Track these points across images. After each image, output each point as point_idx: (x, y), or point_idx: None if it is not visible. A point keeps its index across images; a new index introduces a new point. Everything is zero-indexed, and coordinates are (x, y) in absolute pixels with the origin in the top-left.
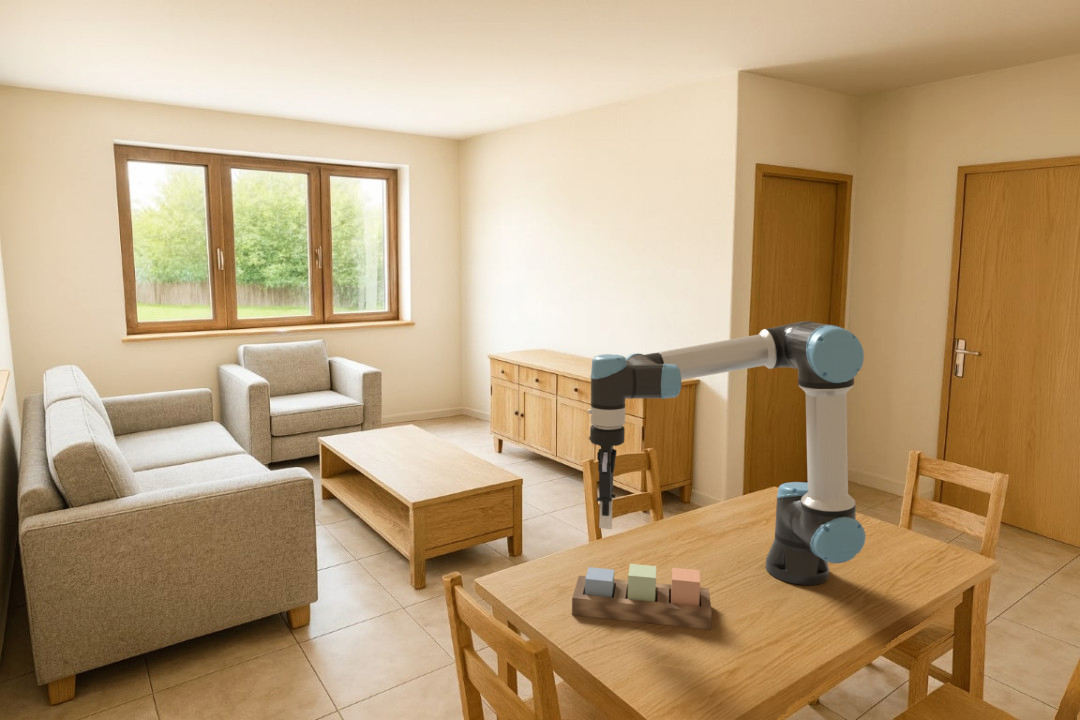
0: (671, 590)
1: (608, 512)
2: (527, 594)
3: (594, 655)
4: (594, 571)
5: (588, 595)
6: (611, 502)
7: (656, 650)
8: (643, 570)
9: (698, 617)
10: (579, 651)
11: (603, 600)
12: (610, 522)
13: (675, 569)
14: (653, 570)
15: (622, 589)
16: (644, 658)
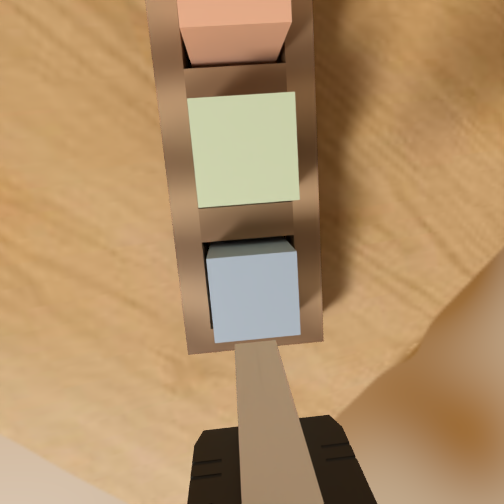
0: (259, 45)
1: (341, 437)
2: None
3: (464, 237)
4: (240, 318)
5: (299, 304)
6: (320, 496)
7: (421, 99)
8: (242, 147)
9: None
10: (454, 271)
11: (318, 259)
12: (283, 368)
13: (192, 11)
14: (229, 107)
15: (236, 218)
16: (459, 125)
